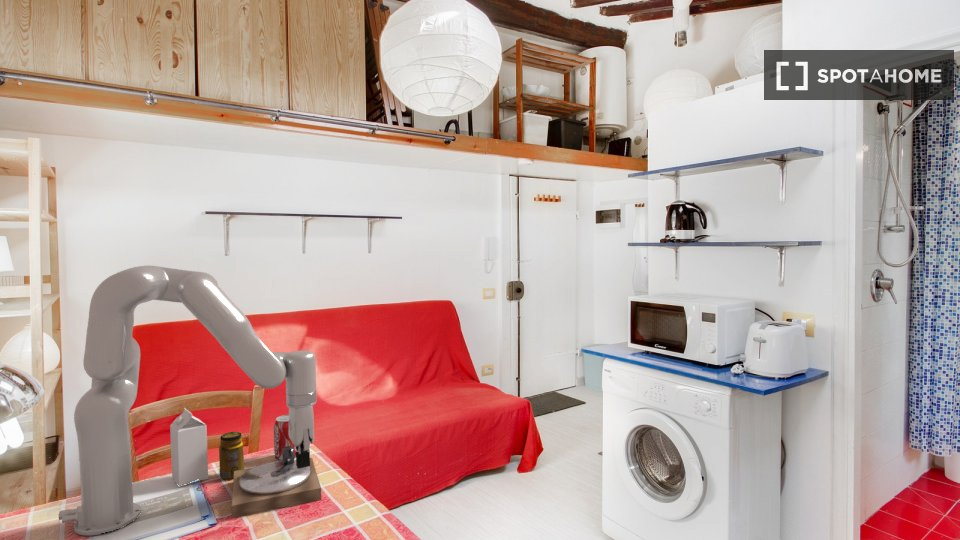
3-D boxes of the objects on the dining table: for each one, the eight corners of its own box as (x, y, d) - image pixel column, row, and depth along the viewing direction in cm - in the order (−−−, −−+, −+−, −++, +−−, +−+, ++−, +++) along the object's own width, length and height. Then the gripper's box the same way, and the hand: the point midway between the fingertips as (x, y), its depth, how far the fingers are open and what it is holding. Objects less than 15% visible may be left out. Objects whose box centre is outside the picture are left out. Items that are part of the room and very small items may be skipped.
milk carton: (200, 471, 143) (198, 404, 142) (208, 479, 138) (206, 410, 137) (171, 479, 138) (169, 410, 137) (179, 488, 133) (176, 417, 132)
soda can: (294, 462, 148) (293, 421, 147) (270, 462, 148) (269, 422, 148) (303, 452, 155) (302, 413, 155) (280, 452, 155) (279, 413, 155)
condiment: (248, 470, 144) (247, 429, 143) (241, 484, 136) (240, 440, 135) (220, 473, 142) (219, 431, 142) (211, 487, 134) (210, 442, 133)
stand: (232, 518, 118) (231, 502, 118) (234, 481, 136) (233, 468, 136) (321, 499, 126) (321, 484, 126) (312, 467, 144) (311, 454, 144)
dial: (292, 496, 122) (291, 475, 121) (225, 493, 123) (224, 472, 123) (320, 465, 138) (320, 447, 138) (261, 463, 140) (261, 445, 140)
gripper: (281, 393, 138) (283, 459, 139) (292, 408, 125) (293, 481, 126) (309, 389, 142) (311, 453, 142) (322, 403, 129) (324, 473, 130)
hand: (303, 466), depth 134 cm, fingers closed
